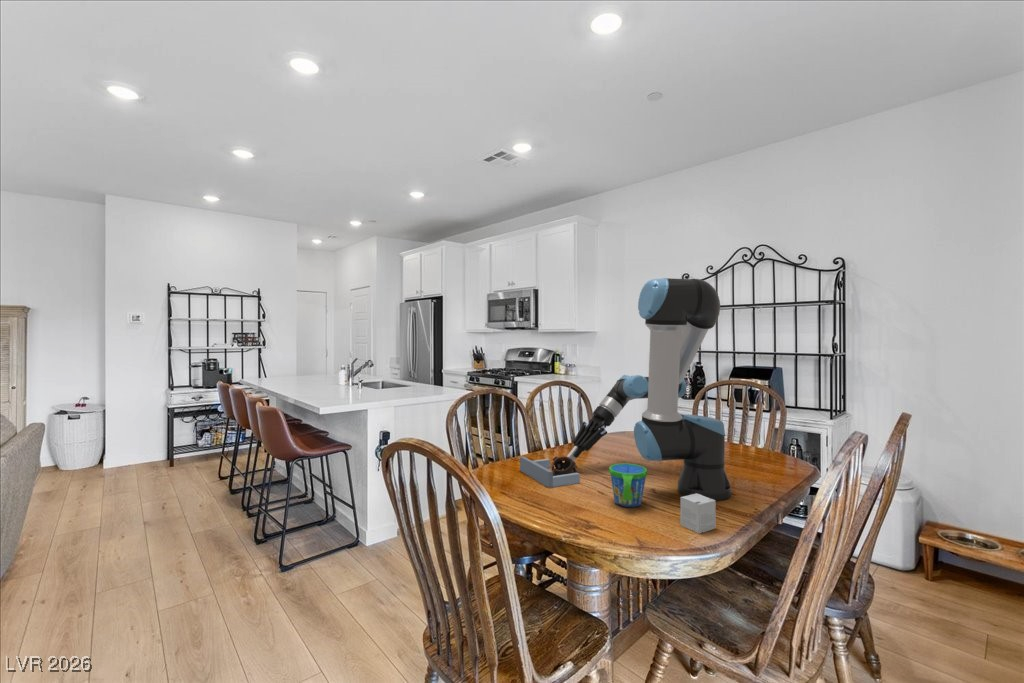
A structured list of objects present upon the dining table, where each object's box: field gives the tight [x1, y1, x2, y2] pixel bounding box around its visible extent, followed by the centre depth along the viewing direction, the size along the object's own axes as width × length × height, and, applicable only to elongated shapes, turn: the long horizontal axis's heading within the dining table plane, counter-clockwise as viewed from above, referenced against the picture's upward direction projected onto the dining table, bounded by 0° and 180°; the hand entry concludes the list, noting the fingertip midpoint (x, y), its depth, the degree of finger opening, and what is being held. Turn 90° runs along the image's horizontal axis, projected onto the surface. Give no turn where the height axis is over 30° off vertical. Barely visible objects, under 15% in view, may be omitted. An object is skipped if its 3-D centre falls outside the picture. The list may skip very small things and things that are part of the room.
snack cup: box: [608, 462, 648, 508], centre depth 136 cm, size 16×10×10 cm
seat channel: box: [519, 456, 581, 489], centre depth 163 cm, size 12×21×5 cm, turn 25°
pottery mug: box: [550, 455, 579, 476], centre depth 162 cm, size 12×10×8 cm
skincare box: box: [679, 493, 717, 534], centre depth 120 cm, size 6×6×7 cm
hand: (567, 463), depth 166 cm, fingers closed
